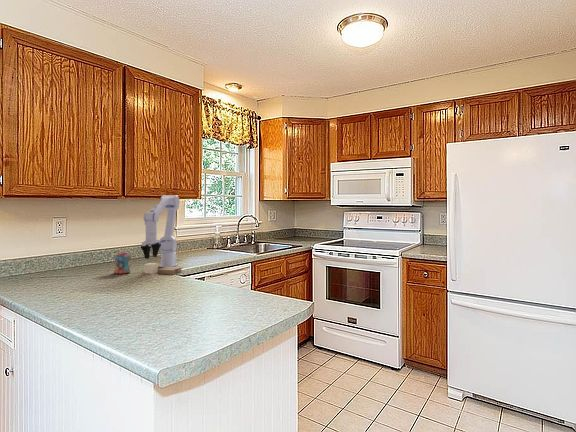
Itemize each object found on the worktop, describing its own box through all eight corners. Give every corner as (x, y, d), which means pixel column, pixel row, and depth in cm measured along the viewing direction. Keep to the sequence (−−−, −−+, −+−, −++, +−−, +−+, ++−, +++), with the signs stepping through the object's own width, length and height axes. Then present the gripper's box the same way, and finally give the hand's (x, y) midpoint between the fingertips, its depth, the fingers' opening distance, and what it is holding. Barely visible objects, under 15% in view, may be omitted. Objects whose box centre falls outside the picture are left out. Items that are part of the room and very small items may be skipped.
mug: (113, 275, 196) (113, 255, 195) (112, 272, 204) (112, 253, 203) (137, 273, 201) (137, 254, 201) (135, 270, 210) (135, 252, 209)
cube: (149, 271, 207) (149, 263, 207) (157, 272, 206) (157, 263, 206) (144, 273, 203) (144, 264, 202) (152, 273, 201) (152, 264, 201)
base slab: (167, 270, 211) (167, 266, 210) (181, 271, 208) (181, 267, 208) (158, 273, 202) (158, 269, 202) (172, 274, 200) (172, 270, 200)
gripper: (152, 232, 212) (152, 255, 212) (136, 234, 198) (136, 259, 198) (163, 232, 210) (163, 256, 210) (148, 234, 196) (148, 259, 196)
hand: (151, 257), depth 204 cm, fingers open, 7 cm apart
